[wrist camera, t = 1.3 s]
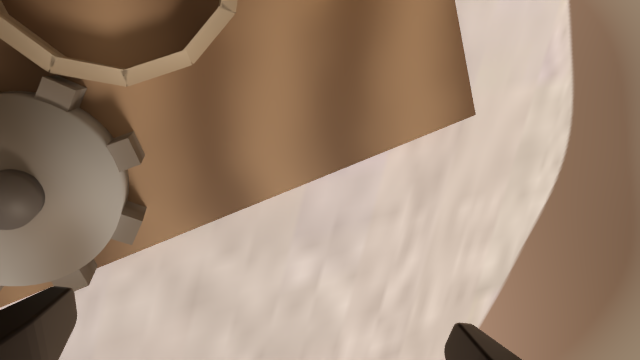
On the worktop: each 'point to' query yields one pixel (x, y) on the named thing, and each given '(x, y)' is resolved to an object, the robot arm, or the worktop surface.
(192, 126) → the gear board
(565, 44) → the worktop surface
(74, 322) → the robot arm
